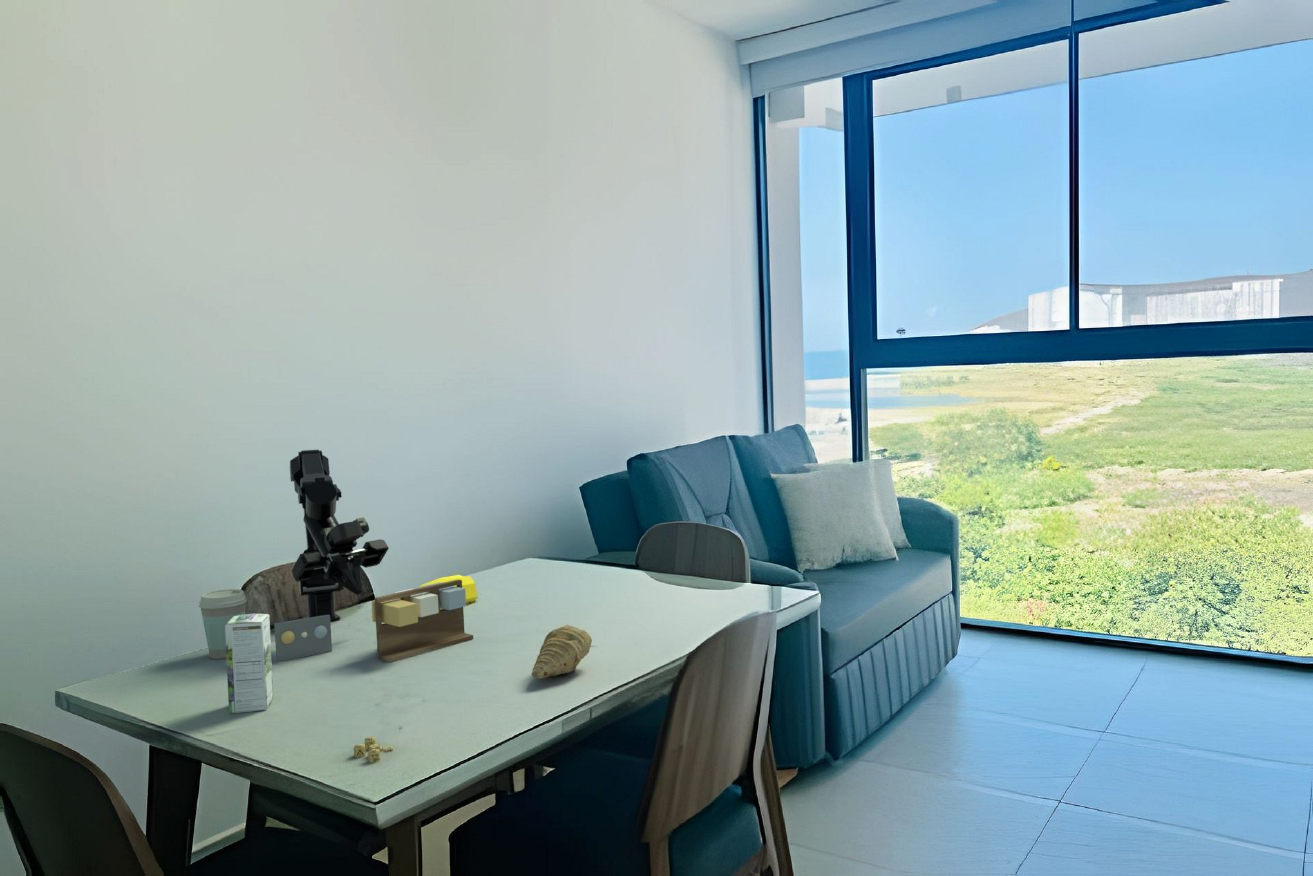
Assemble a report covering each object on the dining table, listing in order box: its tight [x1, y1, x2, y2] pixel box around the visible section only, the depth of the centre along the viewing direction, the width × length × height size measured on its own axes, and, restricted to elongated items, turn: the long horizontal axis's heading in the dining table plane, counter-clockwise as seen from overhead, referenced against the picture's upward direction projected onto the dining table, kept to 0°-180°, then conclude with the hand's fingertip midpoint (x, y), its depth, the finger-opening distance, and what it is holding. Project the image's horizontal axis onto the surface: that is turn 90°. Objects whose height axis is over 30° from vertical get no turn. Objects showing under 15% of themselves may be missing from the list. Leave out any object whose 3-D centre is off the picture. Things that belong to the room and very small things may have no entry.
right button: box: [422, 582, 467, 610], centre depth 192 cm, size 9×4×4 cm, turn 48°
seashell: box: [531, 624, 593, 680], centre depth 166 cm, size 14×8×8 cm, turn 160°
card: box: [273, 615, 333, 662], centre depth 184 cm, size 1×10×7 cm, turn 124°
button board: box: [374, 579, 474, 663], centre depth 186 cm, size 4×19×12 cm, turn 138°
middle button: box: [392, 587, 439, 617], centre depth 187 cm, size 9×4×4 cm, turn 48°
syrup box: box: [225, 613, 274, 714], centre depth 155 cm, size 6×6×14 cm
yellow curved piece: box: [418, 574, 478, 610], centre depth 220 cm, size 18×7×8 cm
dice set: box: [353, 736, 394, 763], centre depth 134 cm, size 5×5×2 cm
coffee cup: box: [198, 588, 248, 660], centre depth 187 cm, size 8×9×12 cm
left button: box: [371, 599, 418, 627], centre depth 181 cm, size 9×4×4 cm, turn 48°
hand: (359, 593), depth 189 cm, fingers closed
